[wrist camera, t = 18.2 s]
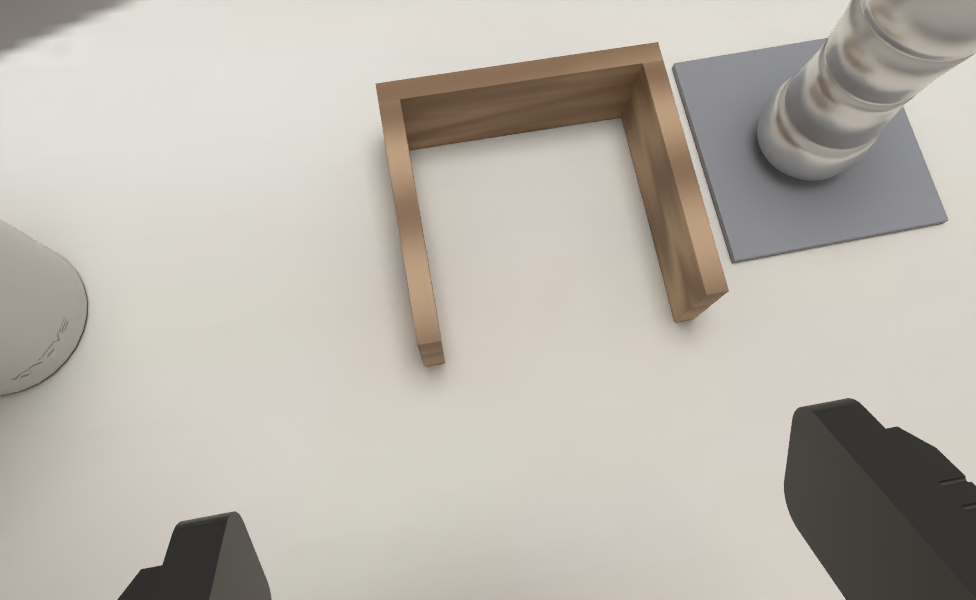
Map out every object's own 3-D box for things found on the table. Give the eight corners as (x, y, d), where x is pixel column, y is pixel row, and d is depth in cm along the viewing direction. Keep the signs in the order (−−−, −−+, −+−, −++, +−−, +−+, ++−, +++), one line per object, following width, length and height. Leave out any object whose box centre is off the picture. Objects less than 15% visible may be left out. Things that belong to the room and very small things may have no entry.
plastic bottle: (863, 183, 45) (1157, -53, 26) (761, 200, 45) (983, -27, 25) (831, 94, 47) (1085, -189, 27) (732, 110, 46) (920, -167, 27)
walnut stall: (694, 319, 43) (728, 290, 37) (424, 366, 42) (417, 345, 36) (634, 98, 47) (657, 42, 41) (387, 136, 46) (375, 83, 40)
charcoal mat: (732, 263, 44) (735, 260, 43) (672, 67, 48) (674, 63, 47) (943, 223, 45) (948, 220, 45) (868, 35, 49) (872, 30, 48)
